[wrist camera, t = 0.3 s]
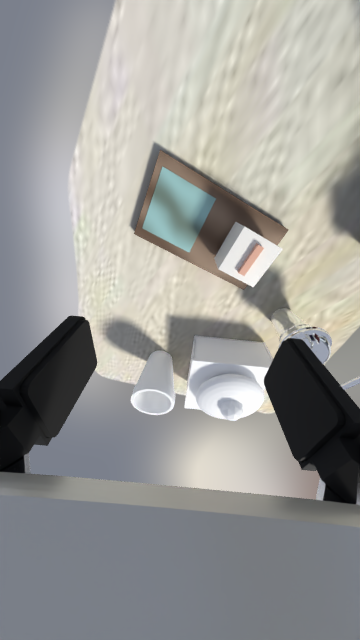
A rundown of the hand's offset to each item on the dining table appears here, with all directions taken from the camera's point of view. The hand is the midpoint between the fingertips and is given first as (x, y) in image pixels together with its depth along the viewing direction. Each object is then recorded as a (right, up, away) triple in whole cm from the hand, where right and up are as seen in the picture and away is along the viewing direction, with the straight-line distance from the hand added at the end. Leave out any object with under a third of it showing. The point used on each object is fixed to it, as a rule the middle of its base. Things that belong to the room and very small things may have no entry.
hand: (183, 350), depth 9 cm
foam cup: (-5, -9, +42) cm, 43 cm away
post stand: (+5, +17, +23) cm, 29 cm away
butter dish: (+11, -10, +41) cm, 44 cm away
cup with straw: (+23, +2, +32) cm, 39 cm away
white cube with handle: (+10, +13, +22) cm, 28 cm away
